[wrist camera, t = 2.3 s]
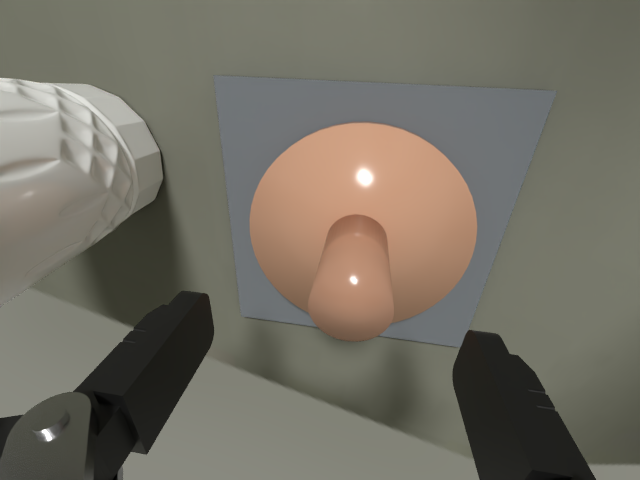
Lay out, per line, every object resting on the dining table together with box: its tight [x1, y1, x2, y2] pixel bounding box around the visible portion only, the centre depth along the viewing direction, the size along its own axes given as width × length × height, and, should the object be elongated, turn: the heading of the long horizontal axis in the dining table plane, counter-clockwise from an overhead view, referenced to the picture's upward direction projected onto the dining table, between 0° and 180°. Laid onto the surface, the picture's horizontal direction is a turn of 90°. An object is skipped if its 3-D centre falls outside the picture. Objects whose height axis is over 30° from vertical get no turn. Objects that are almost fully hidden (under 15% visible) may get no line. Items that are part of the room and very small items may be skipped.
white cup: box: [0, 78, 163, 307], centre depth 12 cm, size 8×8×10 cm
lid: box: [250, 121, 477, 341], centre depth 13 cm, size 11×11×6 cm
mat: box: [213, 75, 557, 347], centre depth 16 cm, size 14×14×1 cm
